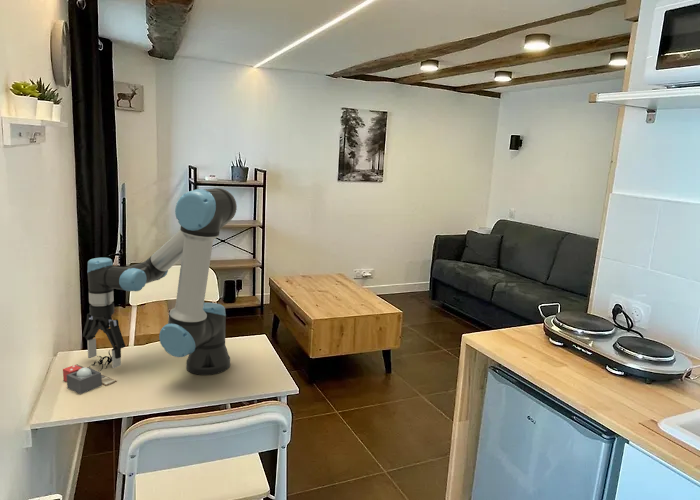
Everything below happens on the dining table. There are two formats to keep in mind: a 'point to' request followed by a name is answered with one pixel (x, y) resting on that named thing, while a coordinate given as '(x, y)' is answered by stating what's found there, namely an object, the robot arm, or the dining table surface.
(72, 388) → the dome housing
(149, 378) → the dining table surface
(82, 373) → the dome
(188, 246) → the robot arm
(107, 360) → the creature
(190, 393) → the dining table surface
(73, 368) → the red die
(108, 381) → the track strip
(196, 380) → the dining table surface
